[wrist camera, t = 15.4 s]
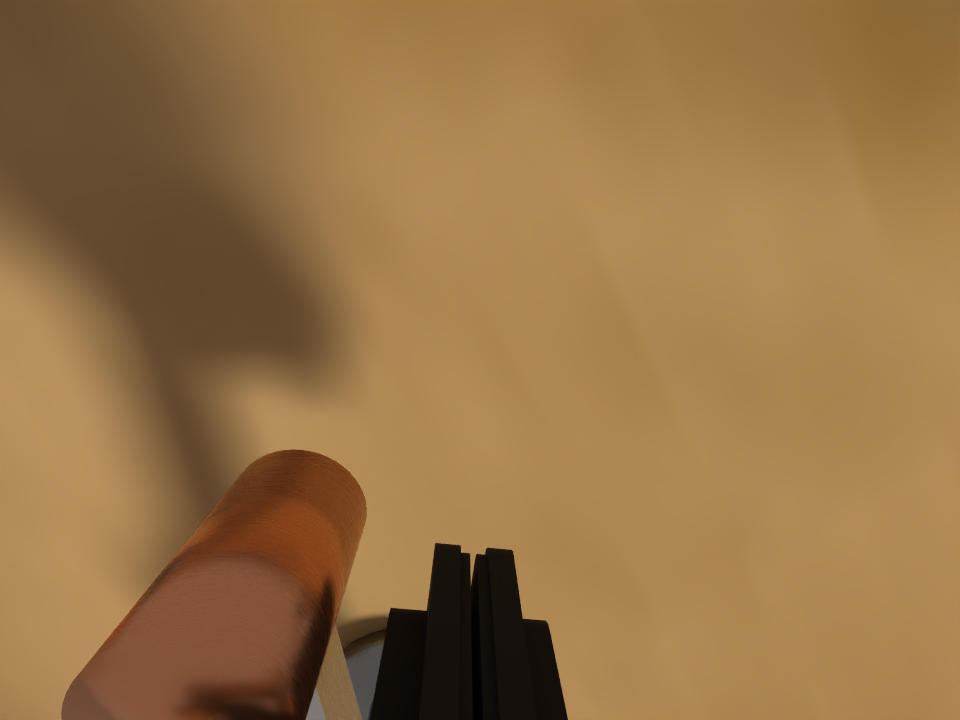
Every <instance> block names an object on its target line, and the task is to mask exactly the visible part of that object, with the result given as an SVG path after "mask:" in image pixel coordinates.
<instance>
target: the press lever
mask: <svg viewBox="0 0 960 720" xmlns="http://www.w3.org/2000/svg"><path fill="white" fill-rule="evenodd" d="M366 516H367V507H366V501H365V497H364V494H363V492H362V489H361V487H360V485H359V484H358V482H357V481H356V479H355V478H354V477H353V476H352V475H351V473H350V472H349V471H348V470H346V469H345V468H344V467H343V466H342V465H340V464H339V463H337V462H336V461H334V460H332V459H330V458H329V457H326V456H324V455H321V454H318V453H315V452H311V451H305V450H283V451H277V452H273V453H270V454H267V455H265V456H263V457H261V458H259V459H257V460H256V461H254V462H253V463H252V464H250V465H249V466H248V467H247V468H246V469H245V470H244V471H243V473H242V474H241V475H240V476H239V478H238V479H237V480H236V481H235V482H234V484H233V485H232V486H231V487H230V489H229V490H228V491H227V492H226V494H225V495H224V496H223V497H222V498H221V500H220V501H219V502H218V503H217V505H216V506H215V507H214V508H213V510H212V511H211V512H210V513H209V514H208V516H207V517H206V518H205V519H204V521H203V522H202V523H201V524H200V526H199V527H198V528H197V529H196V530H195V532H194V533H193V534H192V535H191V537H190V538H189V539H188V540H187V542H186V543H185V544H184V545H183V546H182V548H181V549H180V550H179V551H178V553H177V554H176V555H175V556H174V558H173V559H172V560H171V561H170V562H169V564H168V565H167V566H166V567H165V569H164V570H163V571H162V572H161V574H160V575H159V576H158V577H157V578H156V580H155V581H154V582H153V583H152V585H151V586H150V587H149V588H148V590H147V591H146V592H145V593H144V594H143V596H142V597H141V598H140V599H139V601H138V602H137V603H136V604H135V606H134V607H133V608H132V609H131V610H130V612H129V613H128V614H127V615H126V617H125V618H124V619H123V620H122V622H121V623H120V624H119V625H118V626H117V628H116V629H115V630H114V631H113V633H112V634H111V635H110V636H109V638H108V639H107V640H106V641H105V642H104V644H103V645H102V646H101V647H100V649H99V650H98V651H97V652H96V654H95V655H94V656H93V657H92V658H91V660H90V661H89V662H88V663H87V665H86V666H85V667H84V668H83V670H82V671H81V672H80V673H79V674H78V676H77V677H76V678H75V679H74V681H73V682H72V683H71V685H70V687H69V689H68V690H67V692H66V695H65V698H64V701H63V706H62V714H61V715H62V720H362V717H361V714H360V710H359V706H358V703H357V699H356V696H355V692H354V688H353V685H352V681H351V678H350V674H349V670H348V667H347V663H346V660H345V656H344V652H343V649H342V645H341V641H340V638H339V634H338V631H337V627H336V623H335V622H336V618H337V615H338V612H339V608H340V605H341V602H342V599H343V595H344V592H345V589H346V585H347V582H348V579H349V575H350V572H351V569H352V565H353V562H354V559H355V556H356V552H357V549H358V546H359V542H360V539H361V536H362V532H363V529H364V526H365V522H366Z"/></svg>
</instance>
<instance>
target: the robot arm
mask: <svg viewBox="0 0 960 720" xmlns="http://www.w3.org/2000/svg"><path fill="white" fill-rule="evenodd" d="M370 720H568V718H567V713H566V708H565V703H564V698H563V693H562V688H561V683H560V678H559V674H558V669H557V664H556V659H555V654H554V649H553V644H552V639H551V634H550V630H549V626H548V623H547V622H546V621H543V620H531V619H523V618H522V611H521V604H520V597H519V590H518V583H517V576H516V569H515V562H514V555H513V551H512V550H506V549H495V548H487V549H486V552H485V555H482V554H476V558H475V564H474V571H473V577H472V584H471V577H470V553H461V546H460V545H451V544H440V543H435V550H434V558H433V566H432V574H431V582H430V590H429V598H428V606H427V611H421V610H409V609H397V608H391V609H390V613H389V618H388V623H387V628H386V634H385V639H384V644H383V650H382V655H381V661H380V666H379V671H378V677H377V682H376V688H375V693H374V698H373V704H372V709H371V714H370Z"/></svg>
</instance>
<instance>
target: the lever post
mask: <svg viewBox="0 0 960 720" xmlns="http://www.w3.org/2000/svg"><path fill="white" fill-rule="evenodd" d="M385 634H386V630H383V631H378V632H375V633H372V634H369V635H367V636H364V637H362V638H360V639H358V640H356V641H355V642H353V643H351V644H350V645H348V646H347V647H346V648H345V649H343V652H344V656H345V660H346V663H347V667H348V670H349V674H350V678H351V681H352V685H353V688H354V692H355V696H356V699H357V703H358V706H359V710H360V714H361V717H362V720H370V714H371V709H372V704H373V698H374V693H375V688H376V682H377V677H378V671H379V666H380V661H381V655H382V650H383V644H384V639H385Z"/></svg>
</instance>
